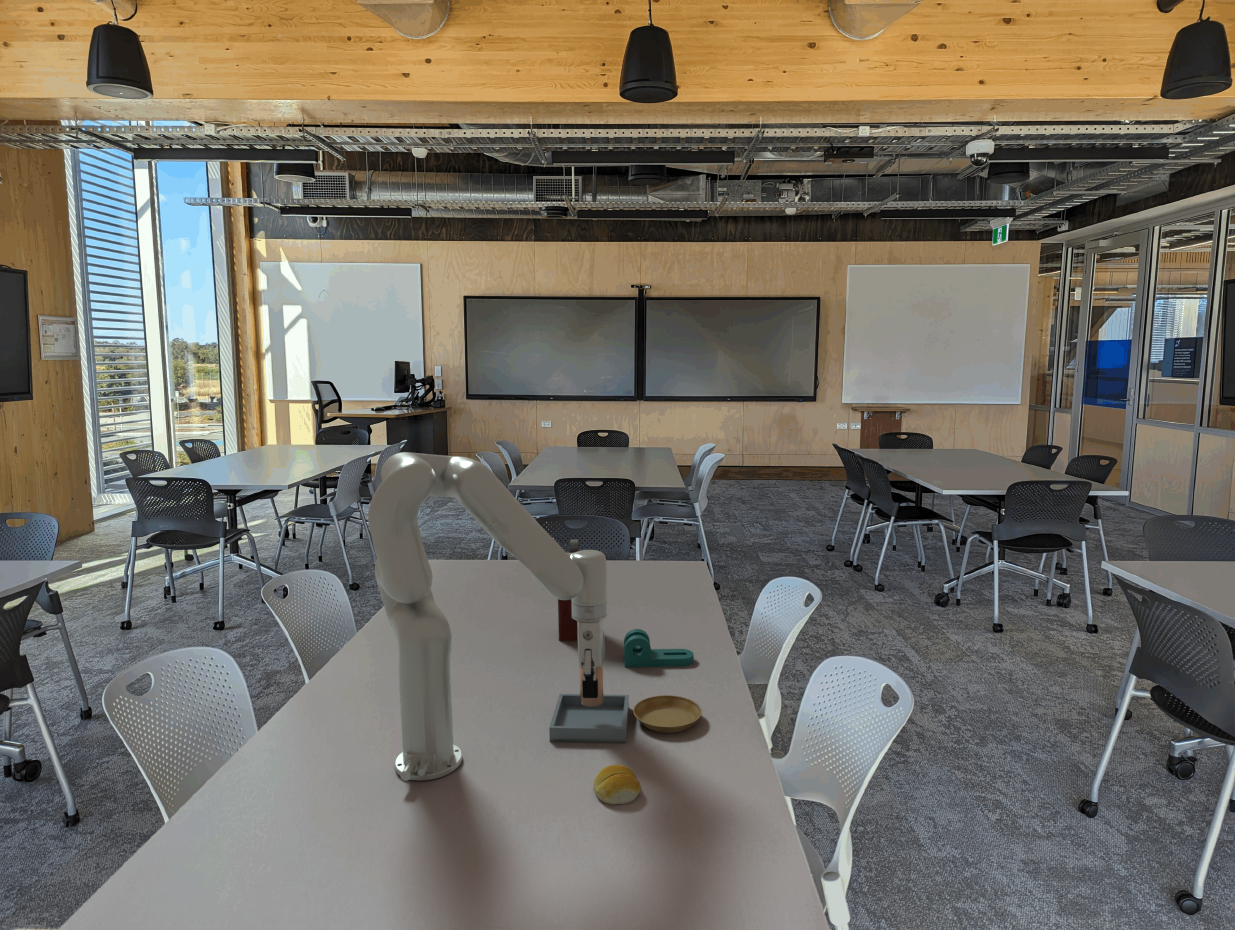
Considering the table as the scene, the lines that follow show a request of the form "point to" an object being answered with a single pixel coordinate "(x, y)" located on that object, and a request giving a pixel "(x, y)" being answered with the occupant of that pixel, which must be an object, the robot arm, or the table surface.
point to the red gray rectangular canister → (567, 611)
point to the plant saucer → (667, 713)
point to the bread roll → (616, 785)
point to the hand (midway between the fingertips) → (591, 690)
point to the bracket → (652, 653)
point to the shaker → (600, 699)
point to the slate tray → (590, 720)
